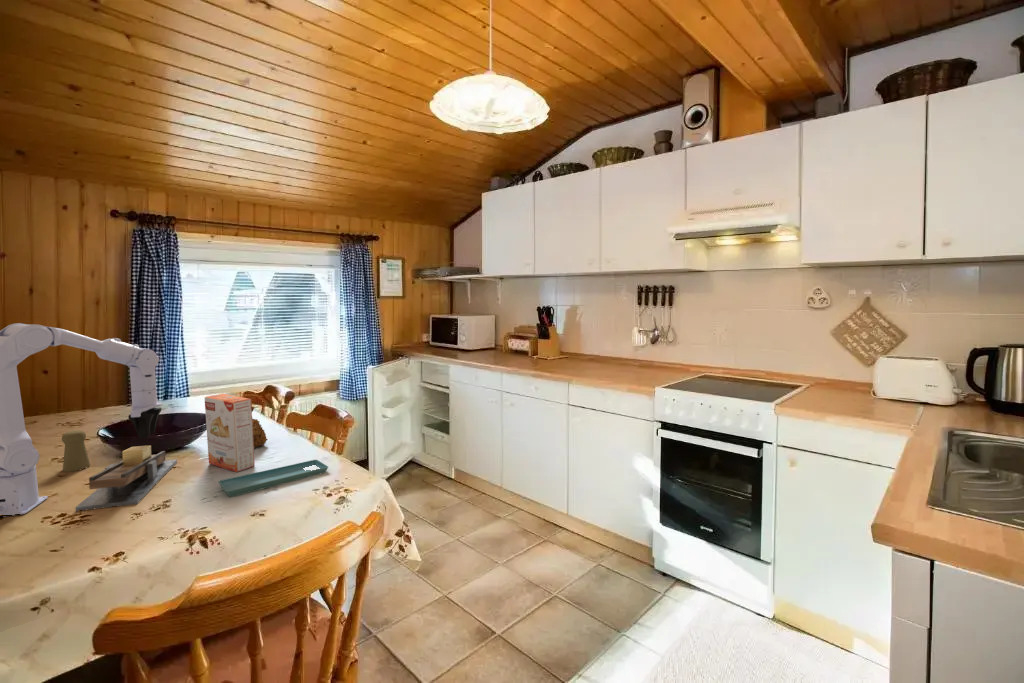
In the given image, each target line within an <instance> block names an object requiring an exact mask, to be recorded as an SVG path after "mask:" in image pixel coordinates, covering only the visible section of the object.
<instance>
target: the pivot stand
mask: <svg viewBox="0 0 1024 683" xmlns="http://www.w3.org/2000/svg"><path fill="white" fill-rule="evenodd" d="M177 463H178V459H165V461H164V462H162V463H161V464H159V465H157V462H156V460H153V461H150V462H149V463H148V464H147V472H146V473H145V474H143V475H141V476H140V477H138V478H137V479H135V480H133V481H132V482H130V483H129V484H127V485H125V486H117V487H108V488H99V489H95V491H94V492H92V493H91V494H90V495H89V496H87V497H86V498H85V499H84V500H83V501H81V502H80V503H78V504H77V505H76V506H75V512H79V511H78V510H83V511H87V510H86V509H91V510H95V509H94V508H100V509H103V508H102V507H108V508H115V507H114V506H117V507H124V505H126V506H132V505H133V504H134V505H138V504H139V503H140V502H141V501H142V500H143V499H144V498H145V497H144V496H146V495H148V494H149V493H150V492H151V490H152V489H153V488H154V487H155V486H156V485H157V484H158V483H159V482H160V481H161V480H162V479H163V478H164V477H163V476H164V475H165V474H166V475H167V474H168V473H169V471H171V470H172V468H173V467H174V466H175V465H176V464H177ZM115 464H116V463H112V464H111V463H110V464H109V465H108V466H106V467H104V470H105V469H107V468H109V467H111V466H113V465H115ZM166 475H165V476H166ZM162 477H163V478H162ZM161 478H162V479H161ZM160 479H161V480H160ZM159 480H160V481H159ZM158 481H159V482H158ZM157 482H158V483H157ZM156 483H157V484H156ZM155 484H156V485H155ZM154 485H155V486H154ZM153 486H154V487H153ZM152 487H153V488H152ZM150 489H151V490H150ZM143 497H144V498H143ZM142 498H143V499H142ZM141 499H142V500H141ZM140 500H141V501H140ZM139 501H140V502H139ZM112 506H113V507H112Z"/></svg>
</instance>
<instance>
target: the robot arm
mask: <svg viewBox="0 0 1024 683" xmlns="http://www.w3.org/2000/svg"><path fill="white" fill-rule="evenodd" d="M61 345H64V346H68V347H72V348H73V347H74V348H77V349H80V350H81V349H82V350H86V351H89V352H95V354H96V356H97V357H98V358H99V359H101V360H105V361H108V362H109V361H110V362H114V363H117V364H121V365H123V366H127V367H129V376H130V377H129V379H130V390H131V405H130V406H131V410H130V414H128V416H127V417H128V420H129V421H131V423H132V425H133V426H134V428H135V430H136V434H137V436H138V438H139V439H147V438H149V437H150V434H155V432H156V428H157V422H158V418H159V416H160V414H161V412H162V406H163V403H162V402H159V399H158V395H157V383H156V381H157V380H156V366H157V365H159V364H158V363H160V362H159V361H160V357H158V355H157V353H156V352H155V350H153V349H151V348H143V347H140V345H139V344H136V343H134V344H130V343H127V342H123V341H122V339H120V338H117V337H113V338H107V339H104V340H103V339H102V340H99V339H95V338H92V337H89V336H87V335H82V334H79V333H77V332H73V331H69V330H67V329H63V328H59V327H52V326H45V325H41V324H28V323H27V324H25V323H21V322H19V323H12V324H11V323H10V324H9V325H7V326H6V327H4V328H3V329H1V330H0V515H12V516H16V515H15V514H20V515H25V514H27V513H28V512H30V511H32V510H33V509H34V508H36V507H37V506H39V505H40V504H41V503H43V502H44V501H45V500H47V499H48V498H49V496H48V495H44V496H39V487H38V486H39V485H38V476H37V464H39V463H38V462H39V460H40V453H39V451H38V449H37V448H35V447H34V445H33V441H32V438H31V436H30V435H29V433H28V432H27V430H26V424H25V417H24V409H23V402H22V396H21V395H22V394H21V389H20V381H19V375H18V374H19V373H18V368H17V366H18V365H19V364H20V363H22V362H23V361H24V360H25V359H26V358H28V357H29V356H31V355H35V354H36V353H39V352H41V351H43V350H46V349H47V348H49V346H50V347H57V346H61Z"/></svg>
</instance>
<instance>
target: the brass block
mask: <svg viewBox="0 0 1024 683" xmlns="http://www.w3.org/2000/svg"><path fill="white" fill-rule="evenodd" d="M151 455H152V445H138V446H131V447H129V448H127V449H125V450H122V461H123V466H129V465H139V464H140V463H142V462H144V461H146V460H148V459H149V458H151Z"/></svg>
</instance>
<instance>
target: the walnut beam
mask: <svg viewBox="0 0 1024 683" xmlns="http://www.w3.org/2000/svg"><path fill="white" fill-rule="evenodd" d="M153 460H156V462H157V465H159V464H161V463H162V462H164V461H165V460H166V451H165V450H163V451H160V452H158V453H157V454H151V458H149V459H148V460H146V461H144V462H142V463H140V464H139V465H129V466H123V460H121V461H119V462H118V463H114V464H115V465H113V466H111V467H109V468H107V469H105V468H104V470H102V471H99V472H98V473H96V474H94V475H92V476H90V477H88V479H89V480H88V482H89V483H88V484H89V488H88V489H89V490H97V489H99V488H108V487H117V486H125V485H127V484H129V483H130V482H132V481H133V480H135V479H137V478H138V477H140V476H141V475H143V474H145V473H146V472H147V464H148V463H149V462H150V461H153Z"/></svg>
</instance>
